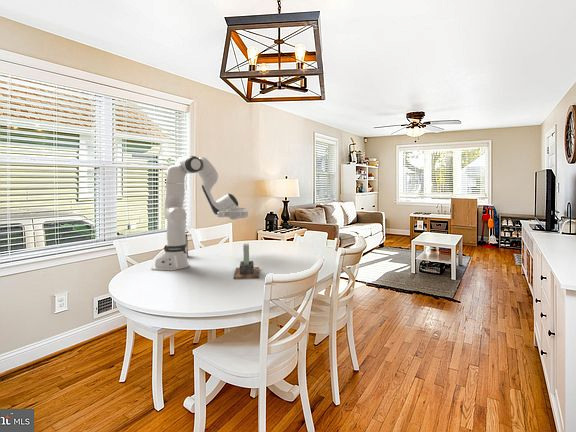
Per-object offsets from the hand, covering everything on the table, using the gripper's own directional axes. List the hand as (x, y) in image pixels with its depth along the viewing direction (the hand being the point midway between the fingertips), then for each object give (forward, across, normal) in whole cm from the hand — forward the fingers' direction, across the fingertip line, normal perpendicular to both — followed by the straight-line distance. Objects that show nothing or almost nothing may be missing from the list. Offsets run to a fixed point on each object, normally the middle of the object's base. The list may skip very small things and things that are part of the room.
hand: (231, 215), depth 216 cm
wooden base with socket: (+26, +10, +32) cm, 42 cm away
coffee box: (-26, -40, +32) cm, 58 cm away
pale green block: (+26, +10, +31) cm, 42 cm away
